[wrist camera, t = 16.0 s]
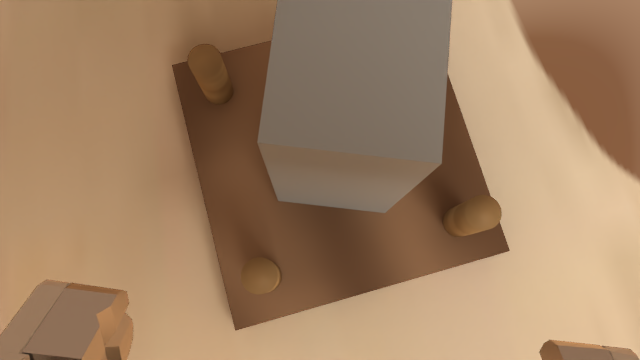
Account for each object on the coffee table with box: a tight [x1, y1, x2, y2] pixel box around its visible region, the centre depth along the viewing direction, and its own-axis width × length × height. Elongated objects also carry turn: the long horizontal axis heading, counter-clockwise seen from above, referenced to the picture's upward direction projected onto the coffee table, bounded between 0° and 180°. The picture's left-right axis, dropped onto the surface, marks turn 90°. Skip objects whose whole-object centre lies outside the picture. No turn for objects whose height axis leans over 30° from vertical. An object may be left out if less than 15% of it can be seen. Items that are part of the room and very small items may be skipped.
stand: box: [172, 41, 510, 330], centre depth 23 cm, size 13×13×5 cm
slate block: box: [257, 0, 452, 213], centre depth 19 cm, size 5×5×10 cm
